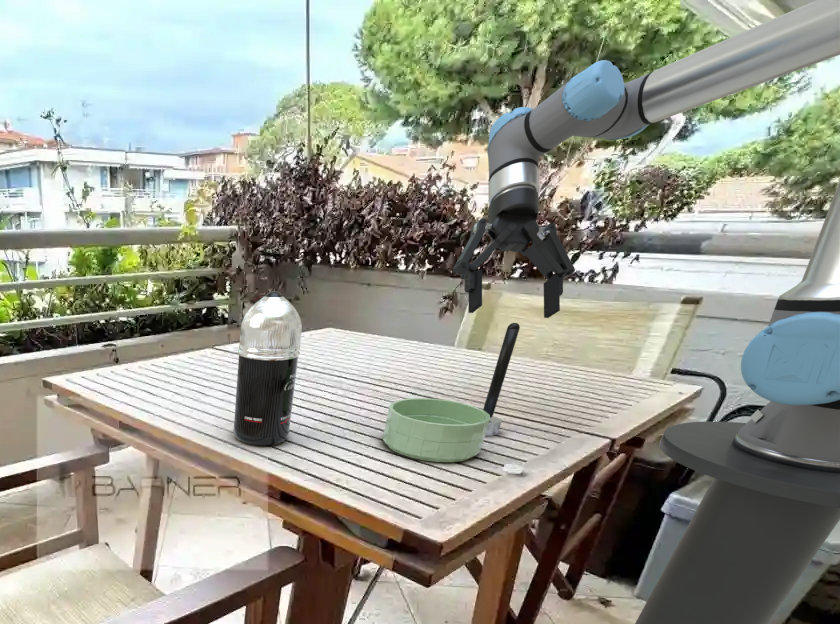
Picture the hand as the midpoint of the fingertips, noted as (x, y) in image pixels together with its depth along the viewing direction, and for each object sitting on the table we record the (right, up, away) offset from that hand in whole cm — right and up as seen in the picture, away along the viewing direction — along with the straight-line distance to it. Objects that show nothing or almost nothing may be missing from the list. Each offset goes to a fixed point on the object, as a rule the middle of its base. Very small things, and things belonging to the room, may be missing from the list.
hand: (513, 311), depth 96 cm
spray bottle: (-44, -22, +4) cm, 49 cm away
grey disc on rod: (-2, -20, +5) cm, 21 cm away
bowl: (-16, -24, -1) cm, 29 cm away
